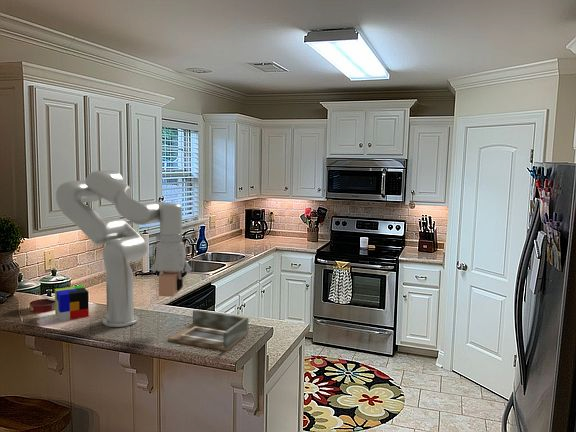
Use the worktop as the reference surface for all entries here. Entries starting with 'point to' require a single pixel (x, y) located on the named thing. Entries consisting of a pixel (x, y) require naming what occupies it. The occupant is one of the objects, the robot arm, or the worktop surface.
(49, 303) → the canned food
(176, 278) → the block
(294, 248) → the worktop surface
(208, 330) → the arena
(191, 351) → the worktop surface
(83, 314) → the puzzle toy
